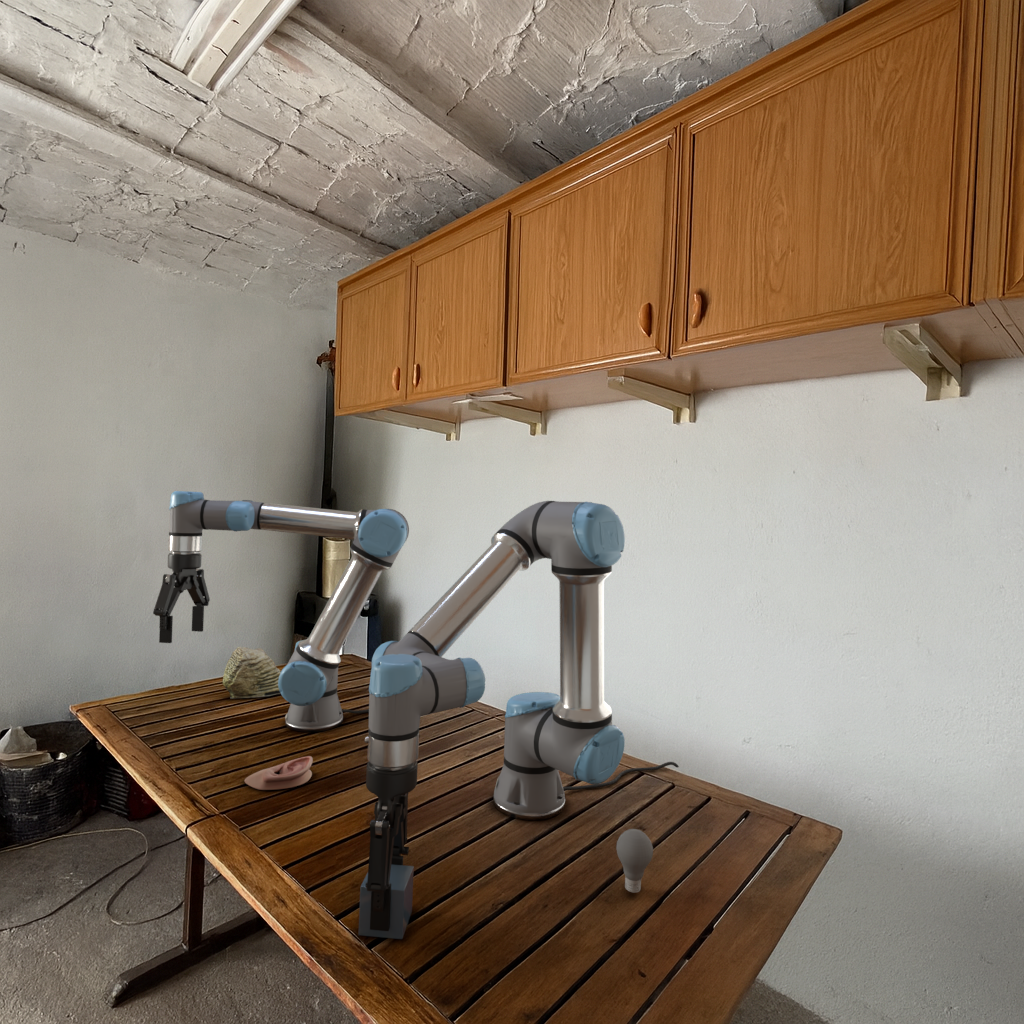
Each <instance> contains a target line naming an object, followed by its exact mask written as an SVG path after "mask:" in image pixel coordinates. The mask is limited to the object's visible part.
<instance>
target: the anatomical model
mask: <svg viewBox="0 0 1024 1024" xmlns="http://www.w3.org/2000/svg"><path fill="white" fill-rule="evenodd" d="M313 759H314V758H313V757H312V756H311V755H307V756H301V757H299V758H295V759H292V760H291V759H290V760H288V761H286V762H283V763H280V764H277V765H274V766H271V767H267V768H264V769H261V770H258V771H256V772H254V773H252V774H250V775H248V776H247V777H245V778H244V783H245V784H246V785H248V786H249V787H251V788H253V789H256V790H260V791H275V790H283V789H290V788H295V787H297V786H301V785H304V784H305V783H307V782H308V781H309V780H310V779H311V777H312V776H313V772H312V771H311V767H312V765H313V761H314V760H313Z"/></svg>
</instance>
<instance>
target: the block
mask: <svg viewBox="0 0 1024 1024" xmlns="http://www.w3.org/2000/svg"><path fill="white" fill-rule="evenodd" d="M414 870H415V867H414V865H405V864H403V865H394V864H391V872H390V881H389V882H390V883H391V906H390V928H389V931H380V930H370V914H371V891H367V887H365V884H366V883H367V882H368V872H367V873H366V875H365V877H364V879H363V880H362V883H361V885H360V889H359V911H358V912H359V913H358V915H359V916H358V936H363V937H372V938H373V937H374V938H384V939H394V940H395V939H396V940H403V938H404V935H405V932H406V930H407V927H408V924H409V921H410V918H411V915H412V912H413V895H414V894H413V893H414V892H413V891H414Z"/></svg>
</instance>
